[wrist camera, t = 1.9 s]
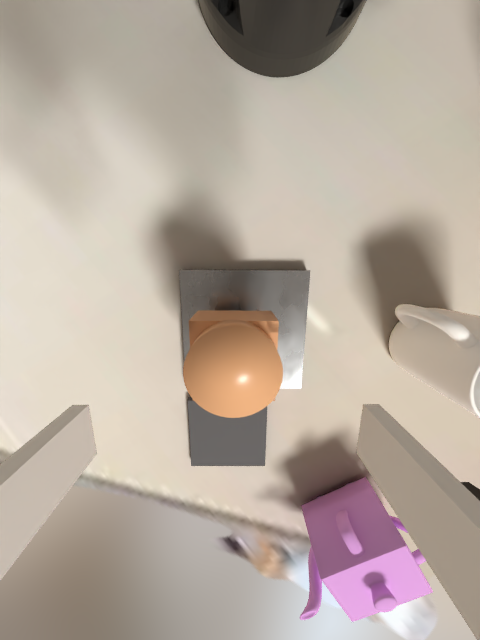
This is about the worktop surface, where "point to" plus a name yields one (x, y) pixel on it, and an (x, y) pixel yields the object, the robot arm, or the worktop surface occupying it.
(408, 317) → the cup
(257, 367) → the cap
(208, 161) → the worktop surface
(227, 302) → the post fixture
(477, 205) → the worktop surface
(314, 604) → the teapot
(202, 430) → the pad
